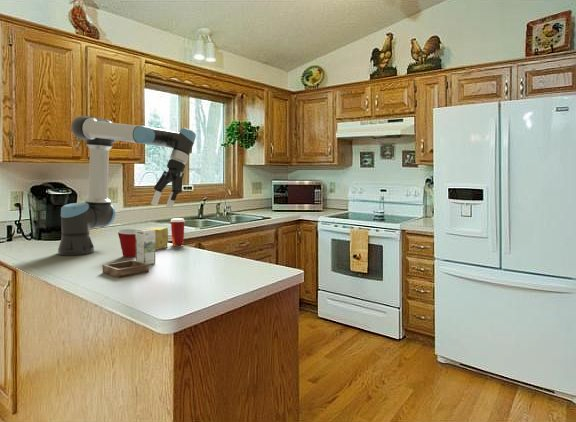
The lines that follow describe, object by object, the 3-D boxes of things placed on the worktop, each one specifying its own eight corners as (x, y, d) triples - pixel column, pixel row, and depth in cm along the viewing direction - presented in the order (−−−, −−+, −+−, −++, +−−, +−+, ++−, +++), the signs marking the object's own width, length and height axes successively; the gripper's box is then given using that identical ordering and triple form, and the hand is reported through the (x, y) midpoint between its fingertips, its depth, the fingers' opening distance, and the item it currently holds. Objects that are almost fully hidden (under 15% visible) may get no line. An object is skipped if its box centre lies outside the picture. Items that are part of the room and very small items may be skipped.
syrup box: (147, 262, 170) (146, 228, 169) (156, 263, 167) (155, 229, 166) (135, 264, 165) (134, 229, 164) (144, 266, 162) (143, 230, 161)
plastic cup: (129, 259, 175) (128, 232, 174) (112, 257, 179) (111, 230, 178) (148, 255, 184) (147, 229, 183) (131, 253, 189) (130, 228, 188)
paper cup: (188, 244, 216) (187, 218, 215) (179, 246, 209) (179, 219, 208) (175, 243, 219) (175, 217, 218) (167, 245, 212) (166, 219, 211)
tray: (102, 272, 150) (102, 264, 150) (132, 267, 159) (132, 260, 159) (118, 278, 143) (118, 269, 142) (148, 272, 152) (148, 264, 152)
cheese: (158, 249, 199) (158, 229, 199) (139, 248, 202) (138, 229, 201) (168, 246, 210) (168, 227, 209) (150, 245, 212) (149, 226, 211)
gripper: (199, 165, 173) (183, 211, 169) (170, 165, 190) (154, 206, 186) (185, 158, 167) (168, 205, 164) (156, 158, 185) (140, 201, 181)
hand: (161, 206), depth 175 cm, fingers open, 13 cm apart
